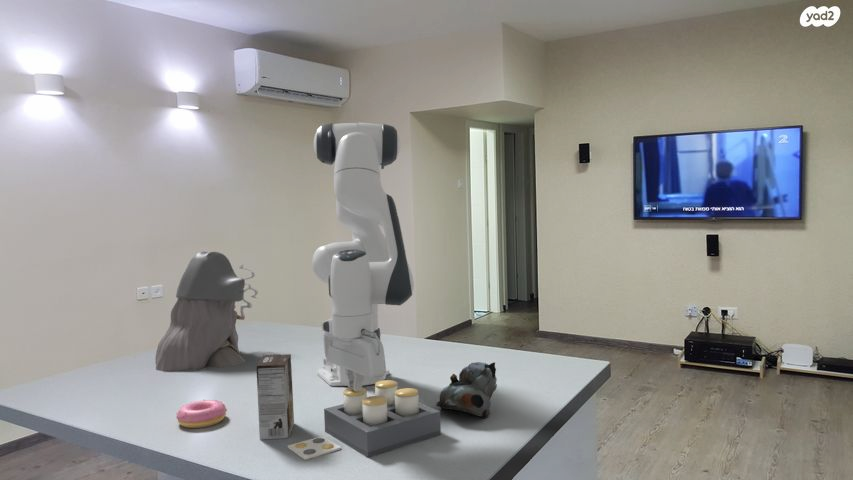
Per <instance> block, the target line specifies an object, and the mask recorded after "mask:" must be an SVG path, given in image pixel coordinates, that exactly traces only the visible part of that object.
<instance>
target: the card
mask: <svg viewBox="0 0 853 480" xmlns="http://www.w3.org/2000/svg"><path fill="white" fill-rule="evenodd" d="M287 448H288V449H289V450H291V451H292V452H293V453H294V454H295V455H297V456H299V457H300V458H301V459H303V460H304V461H306V460H309V459H313V458H316V457H319V456H320V457H321V456H323V455H326V454H330V453H333V452H336V451H339V450H342V446H340V445H338V444H336V442H334V441H332V440H331V439H329V438H327V437H325V436H324V435H320V436H318V437H314V438H309V439H306V440H303V441H299V442H297V443H292V444H289V445H287Z"/></svg>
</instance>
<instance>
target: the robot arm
mask: <svg viewBox="0 0 853 480" xmlns="http://www.w3.org/2000/svg"><path fill="white" fill-rule="evenodd" d="M400 149H401V140H400V137H399V134H398V130H397V129H396V127H394V126H393V125H389V124H385V123H382V124H377V123H371V122H370V123H369V122H362V121H361V122H347V123H346V122H344V123H343V122H342V123H334V124H333V123H332V122H329V123H323V124H320V125H319V127H318V128H316V132H315V134H314V138H313V150H314V153H315V155H316V158H317V159H318V160H319V162H320V163H323V164H326V165H330V166H332V165H334V170H333V188H334V196H335V199H336V201H335V205H336V206H335V208H336V212H335V215H336V218H337V220H338V221H339V223H340V224H341V225H342V226H343V227H345V228H346V227H347V228H348V229H349V230H350V232H351V237H352V240H349V241H336V242H335V241H334V242H331V243H329V244H325V245H321V246H319V247H318V248H316V250H315V251H314V253H313V255H312V259H311V260H312V261H311V266H312V270H313V273H314V275H315V276H316V277H317V279H318V280H320V281H321V282H322V283H323V284H325V285H326V286H327V287H328V295H329V297H330V298H331V300H332V307H331V313H330V314H331V318H329V319H326V320H324V321H322V322H321V330H322V331H323V332H324V334H323V347H324V348H323V349H324V357H323V359H322V360H323V365H324V367H321V368H319V369H318V370H316V374H317V375H318V376H319V377H320V378H321V379H322V380H323V381H324V382H326V384H328V385H329V386H333V387H339V386H340V387H341V386H345V387H346V386H347V387H348V388H349V389H351V390H354V391H356V392H358V391H361V390H362V388H363V387H364V386H369V385H375V383H376V382H378V381H383V380H387V376H388V375H389V374H390V369H389V368H387V366H386V357H385V349H384V346H383V342H382V341H381V336H382V335H381V334H382V333H381V329H380V327H379V309H378V308H379V307H378V305H387V306H402V305H404V303H406V302H407V301H408V300H409V299H410V298H411V297H412V296H413V292H414V283H415V282H414V277H413V273H412V270H411V267H410V265H409V263H408V259H407V255H406V249H405V241H404V238H403V233H402V228H401V223H400V218H399V216H398V211H397V210H398V209H397V206H396V202H395V200H394V198H393V197H392V196H391V195H389V194H388V193H386V192H385V190H384V189H383V186H382V183H381V170H384V168H385V167H386V166H389V165H392V164H393V163H394V162H395V161H396V160H397V158H398V155H399V152H400V151H401V150H400ZM381 227H382V229H383V231H382V230H381ZM383 232H384V233H383ZM348 388H347V389H348Z"/></svg>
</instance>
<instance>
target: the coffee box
mask: <svg viewBox="0 0 853 480" xmlns="http://www.w3.org/2000/svg"><path fill="white" fill-rule="evenodd" d="M291 355H292V354H290V353H289V354H280V353H279V354H278V353H277V354H274V353H273V354H264V355H262V357H261V358H259V359H260V360H259V361H258V362H257V364H256V367H255V368H256V370H255V371H256V386H257V407H258V409H257V411H258V429H259V430H258V431H259V440H261V441H262V440H275V439H289V438H290V436H291V432H292V429H293V426H294V424H295V417H294V416H295V413H294V393H293V390H294V389H293V374H292V356H291Z"/></svg>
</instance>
